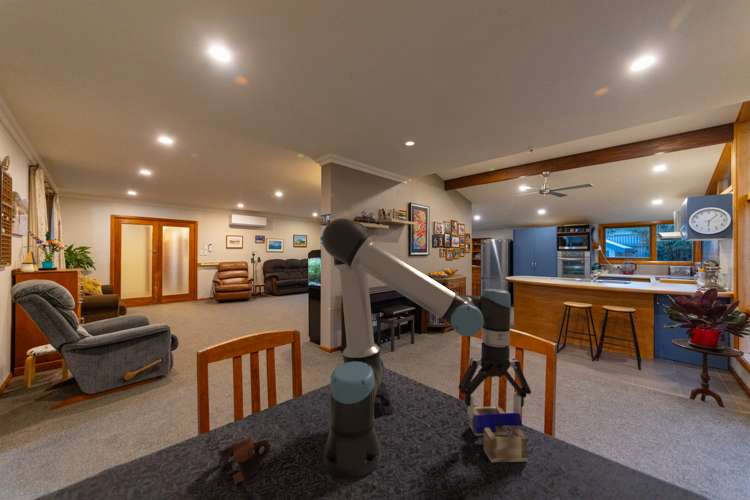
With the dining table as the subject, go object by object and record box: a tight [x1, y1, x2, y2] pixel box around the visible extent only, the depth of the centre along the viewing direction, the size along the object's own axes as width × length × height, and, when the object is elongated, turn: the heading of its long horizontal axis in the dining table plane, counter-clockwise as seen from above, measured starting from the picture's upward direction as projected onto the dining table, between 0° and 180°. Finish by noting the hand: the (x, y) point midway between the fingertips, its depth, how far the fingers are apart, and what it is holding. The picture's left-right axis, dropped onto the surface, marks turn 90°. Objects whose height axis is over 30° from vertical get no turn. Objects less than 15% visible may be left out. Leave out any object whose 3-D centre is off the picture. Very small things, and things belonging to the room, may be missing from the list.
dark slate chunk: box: [374, 381, 394, 417], centre depth 110 cm, size 15×22×5 cm
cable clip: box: [472, 412, 523, 434], centre depth 85 cm, size 12×4×6 cm
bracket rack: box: [469, 406, 528, 463], centre depth 85 cm, size 10×16×6 cm, turn 2°
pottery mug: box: [218, 436, 271, 483], centre depth 76 cm, size 12×10×8 cm
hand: (493, 417), depth 85 cm, fingers open, 13 cm apart
